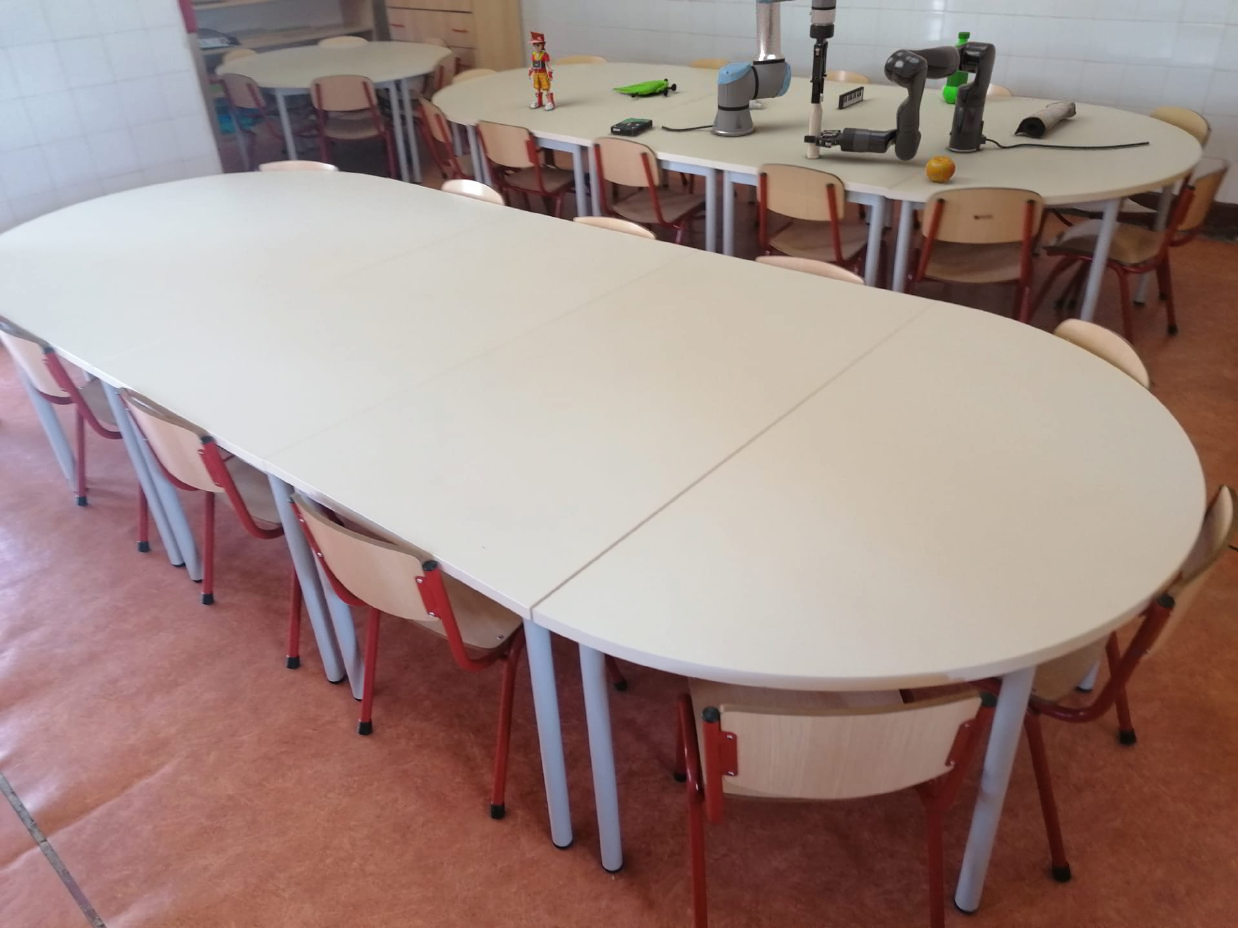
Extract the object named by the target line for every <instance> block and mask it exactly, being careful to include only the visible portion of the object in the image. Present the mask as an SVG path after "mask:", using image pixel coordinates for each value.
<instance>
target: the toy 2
mask: <svg viewBox="0 0 1238 928" xmlns="http://www.w3.org/2000/svg"><path fill="white" fill-rule="evenodd" d="M669 85H670V83H669V79H668V78H664V79H663V80H649V81H644V82H640V83H634V84H629V85H627V86H621V87H613V88H612V89H613V90H616V91H619V92H623V93H627V94H628V93H629V94H631V95H630V96H631V98H632V99H634V98H636V96H637V95H650V94H652V93H654V94H658V93H662V95H663V96H665V97H667V96H668V95H669V90H671V91H672V92H676V91H677V84H676V83H672V84H671V86H669Z"/></svg>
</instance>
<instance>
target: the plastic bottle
mask: <svg viewBox="0 0 1238 928" xmlns="http://www.w3.org/2000/svg"><path fill="white" fill-rule="evenodd" d="M970 36H971V32H970V31H959V32H958V36H957V39H958V42H957V43H956V44H954V45H952V46H953V47H954V46H957V45H960V44H963V43H965V42H969V39H970V38H971V37H970ZM969 74H970V73H965V72H960V71H956V72H955V73H954V74H953V75H952V76H950V77H947V78H946V84H945V85H944V87H943V90H942V97H943V99H944V100H945V101H946V102H947V103H948V104H955V103H956V96H957V90H958V87H959V86H960V85H962V84H966V83H968V79H969Z"/></svg>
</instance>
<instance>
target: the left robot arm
mask: <svg viewBox="0 0 1238 928" xmlns="http://www.w3.org/2000/svg"><path fill="white" fill-rule="evenodd" d="M793 1H795V0H755V16H756V17H755V21H756V24H755V25H756V27H755V28H756V29H755V30H756V31H755V32H756V55H755V57H754V58H752V65H751V63H750V62H749V61H735V62H731V63H727V64H724V65H723V66H722V67H720V68H719V70H718V75H717V82H716V83H717V111H716V114H715V118H714V120H713V124H710V125H709V124H708V125H700V126H695V127H686V128H671V127H667V126H664V125H662V126H661V129H664V130H668V131H671V132H687V131H694V130H701V129H709V128H712V133H713V134H715V135H717V136H721V137H741V136H746V135H750V134H752V133H754V127H755V123H754V121H753V118H752V115H751V111H750V109H749V101H750V100H757V101H758V100H765V99H775V98H780V97H783V96H784V95H786V94H787V92H788V90H789V88H790V85H791V81H792V69H791V65H790V63H789V62H788V61H786V56H784V54H783V53H782V43H781V42H782V41H781V39H782V38H781V37H782V35H781V33H782V32H781V31H782V29H781V26H782V25H781V24H782V23H781V3H784V2H793ZM836 13H837V0H811V11H809V13H808V15H809V16H810V23H811V24H810V25H809V38H811V39H814V40H816V41H815V43H814V44H813V50H812V51H813V59H812V70H811V71H812V72H811V79H810V81H809V82H810V83H811V84H812V85H811V95H812V97H811V96H810V104H811V105H813V104H820V93H821V94H823V95H824V91H825V78H827V77H828V74H827V71H826V70H827V59H828V56H827V55H828V48H829V41H828V40H827V39H831V38H833V37H834V36H835V24H834V23H836Z"/></svg>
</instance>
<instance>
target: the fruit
mask: <svg viewBox="0 0 1238 928" xmlns="http://www.w3.org/2000/svg"><path fill="white" fill-rule="evenodd" d="M955 173H956V163H955V162H954V161H953V159H952V158H950V157H948V156H945V155H941V156H940V155H939V156H935V157H933V158H931V159H930V160H929V161H928V162H927V163H926V166H925V175H926V177H927V178H928V179H929V180H930V181H933V182H939V183H941V182H942V183H943V182H946V181H949V180H950V179H951V178H952V177H953V176H954V175H955Z"/></svg>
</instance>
